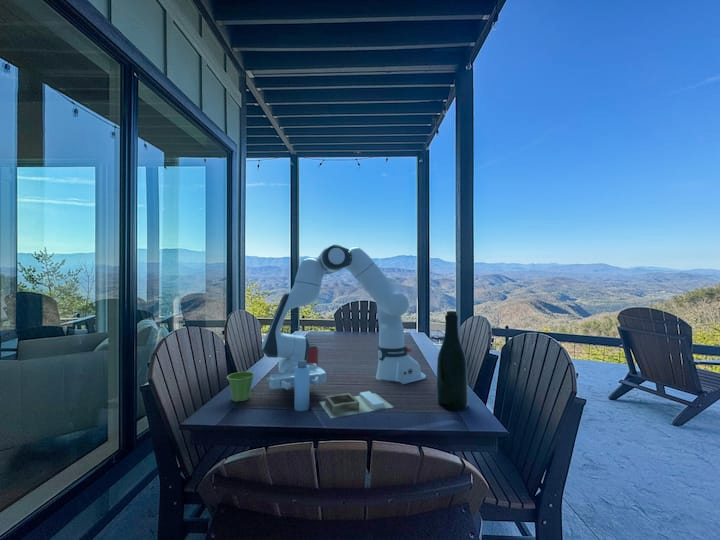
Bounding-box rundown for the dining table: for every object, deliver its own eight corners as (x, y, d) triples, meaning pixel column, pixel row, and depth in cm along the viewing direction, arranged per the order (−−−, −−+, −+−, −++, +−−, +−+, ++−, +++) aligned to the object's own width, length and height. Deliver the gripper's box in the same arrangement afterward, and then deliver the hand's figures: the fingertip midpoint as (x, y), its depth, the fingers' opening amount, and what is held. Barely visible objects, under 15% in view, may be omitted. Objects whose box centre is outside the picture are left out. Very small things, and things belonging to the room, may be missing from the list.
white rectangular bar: (369, 395, 118) (369, 391, 118) (384, 407, 107) (384, 402, 107) (359, 396, 117) (359, 392, 117) (373, 409, 105) (373, 404, 106)
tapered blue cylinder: (307, 404, 113) (307, 358, 113) (310, 409, 108) (311, 362, 108) (293, 406, 111) (293, 360, 111) (296, 412, 106) (296, 363, 106)
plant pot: (238, 406, 111) (238, 380, 111) (221, 400, 116) (221, 376, 116) (259, 397, 119) (259, 374, 119) (242, 392, 124) (243, 370, 124)
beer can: (315, 372, 150) (315, 347, 151) (302, 371, 152) (302, 346, 152) (319, 368, 157) (319, 344, 157) (307, 367, 158) (307, 343, 159)
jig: (375, 396, 120) (375, 386, 120) (393, 410, 107) (393, 399, 107) (318, 405, 112) (318, 394, 112) (331, 422, 99) (331, 410, 99)
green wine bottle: (446, 397, 119) (446, 308, 120) (473, 405, 112) (472, 311, 112) (430, 405, 112) (430, 310, 113) (458, 414, 104) (457, 313, 105)
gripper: (266, 368, 118) (271, 379, 105) (320, 363, 126) (330, 372, 113) (266, 386, 117) (271, 399, 105) (320, 379, 125) (330, 390, 113)
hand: (302, 385), depth 109 cm, fingers open, 8 cm apart
